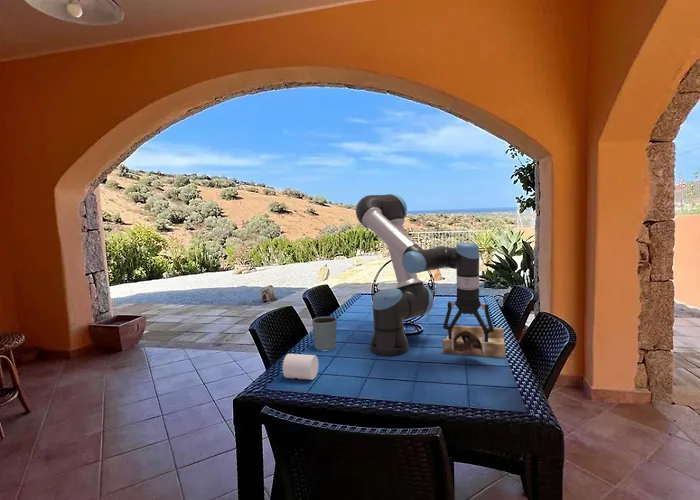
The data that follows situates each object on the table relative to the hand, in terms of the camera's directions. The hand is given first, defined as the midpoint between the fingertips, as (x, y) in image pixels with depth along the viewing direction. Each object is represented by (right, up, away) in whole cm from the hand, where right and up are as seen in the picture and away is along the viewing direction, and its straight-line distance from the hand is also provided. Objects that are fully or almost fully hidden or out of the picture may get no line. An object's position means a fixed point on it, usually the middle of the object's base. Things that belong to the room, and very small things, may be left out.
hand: (468, 349), depth 134 cm
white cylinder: (-58, -9, -3) cm, 59 cm away
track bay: (+7, -3, +15) cm, 17 cm away
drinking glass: (-52, -6, +23) cm, 57 cm away
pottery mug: (0, -1, 0) cm, 1 cm away
